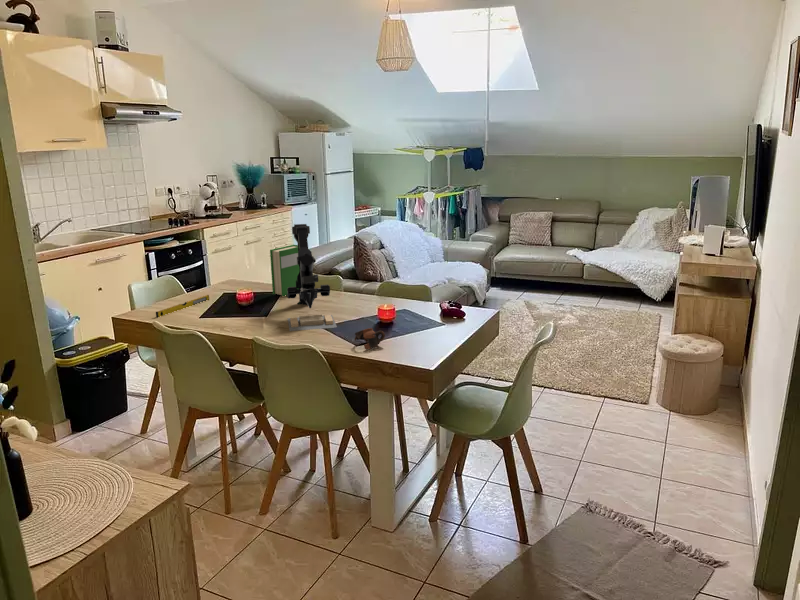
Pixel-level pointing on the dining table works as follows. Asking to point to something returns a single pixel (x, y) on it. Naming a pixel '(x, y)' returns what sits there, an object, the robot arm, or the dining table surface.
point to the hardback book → (284, 268)
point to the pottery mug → (370, 337)
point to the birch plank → (311, 320)
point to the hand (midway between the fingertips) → (310, 307)
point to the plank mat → (295, 325)
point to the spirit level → (181, 306)
